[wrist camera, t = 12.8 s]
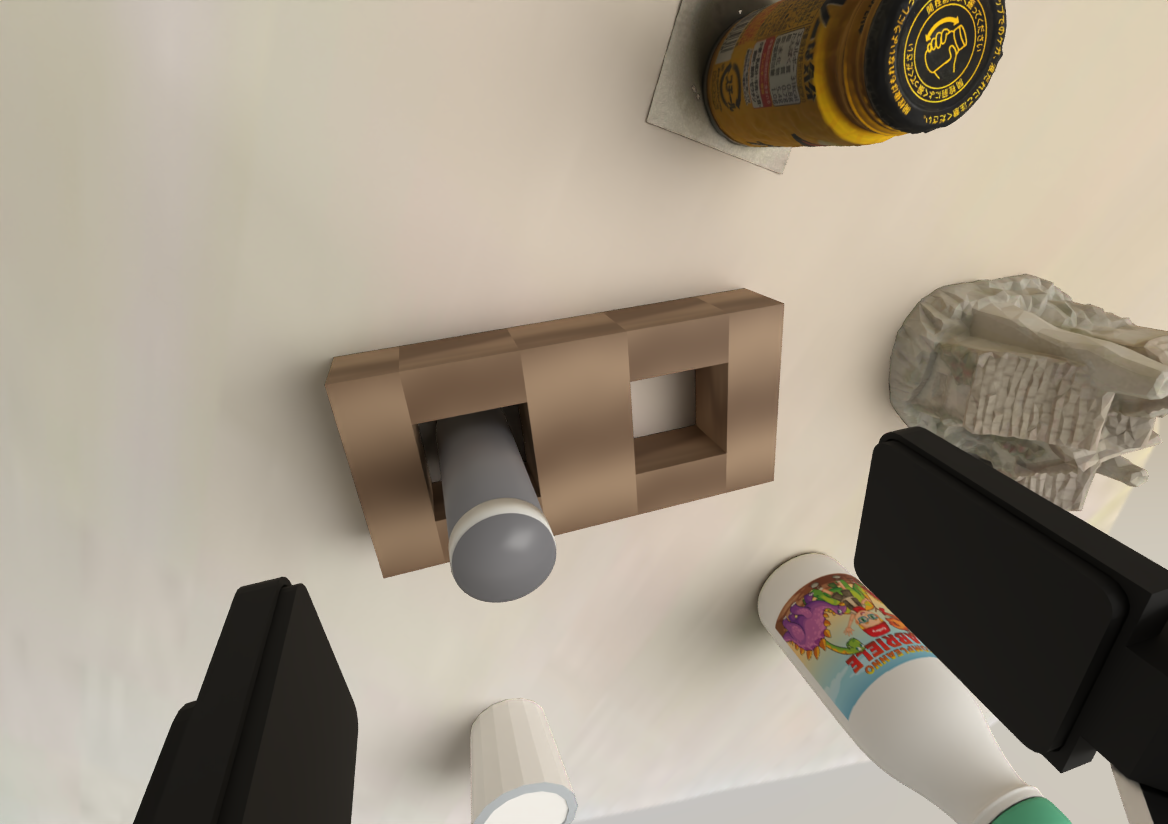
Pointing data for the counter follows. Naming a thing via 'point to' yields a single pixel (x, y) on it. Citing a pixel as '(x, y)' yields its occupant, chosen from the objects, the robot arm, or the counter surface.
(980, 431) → the gray stone sculpture
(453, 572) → the grey rounded cylinder
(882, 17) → the condiment
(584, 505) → the socket block
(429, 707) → the counter surface
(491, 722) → the shot glass
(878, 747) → the milk bottle
